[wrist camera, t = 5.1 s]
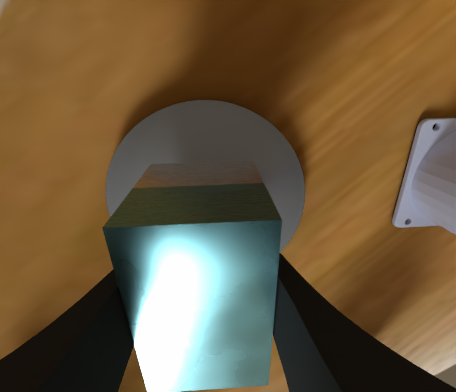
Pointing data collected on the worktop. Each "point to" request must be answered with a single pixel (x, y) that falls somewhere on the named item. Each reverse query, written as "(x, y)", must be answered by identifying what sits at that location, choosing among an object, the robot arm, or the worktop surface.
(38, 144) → the worktop surface
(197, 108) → the slate stand
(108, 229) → the block
